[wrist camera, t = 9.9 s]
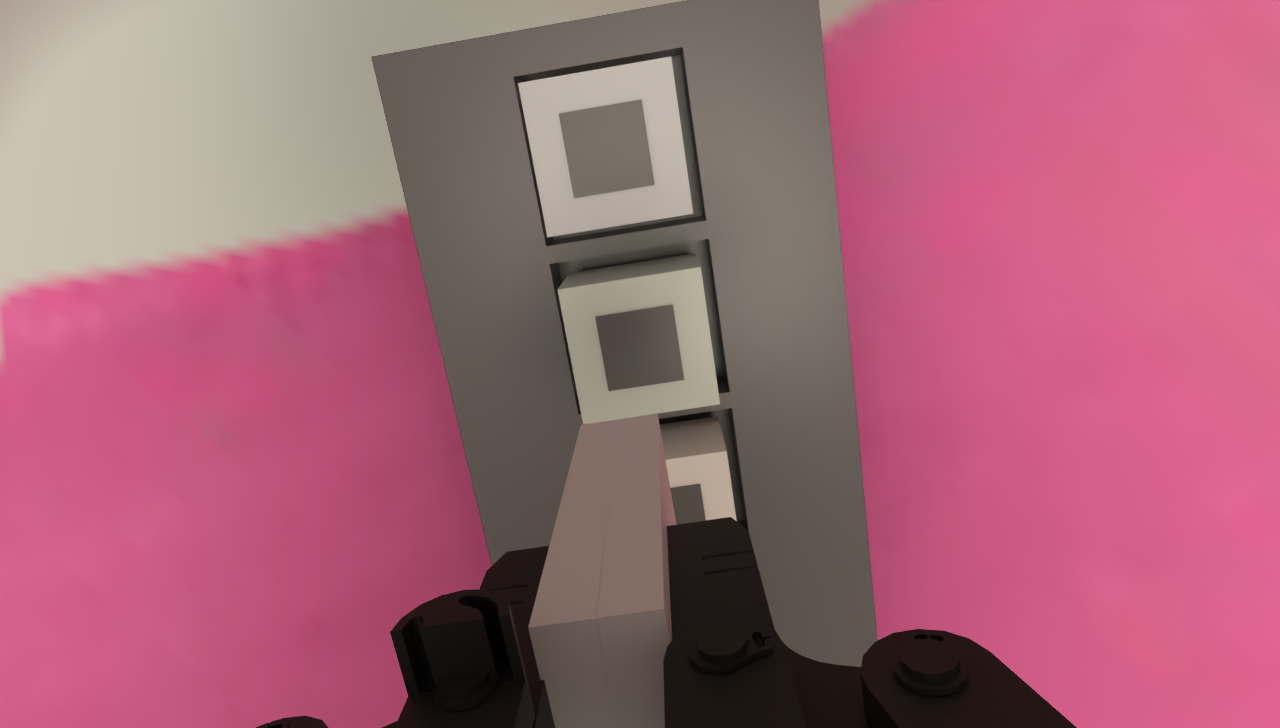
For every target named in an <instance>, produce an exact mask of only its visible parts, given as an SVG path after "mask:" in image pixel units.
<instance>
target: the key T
mask: <svg viewBox="0 0 1280 728" xmlns="http://www.w3.org/2000/svg"><path fill="white" fill-rule="evenodd" d="M660 430H661V436H662V442H663V448H664V454H665V460H666V466H667V472H668V478H669V483H670V489H671V495H672V501H673V507H674V513H675V519H676V525H678V524H685V523H692V522H699V521H706V520H713V519H720V518H726V517H732V518H733V519H734V520H735V521H737V520H736V513H735V506H734V499H733V492H732V485H731V478H730V471H729V464H728V457H727V450H726V446H725V442H724V438H723V434H722V430H721V426H720V422H719V418H718V416H715V417H709V418H702V419H695V420H688V421H681V422H674V423H668V424H661V425H660Z"/></svg>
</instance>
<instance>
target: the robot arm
mask: <svg viewBox="0 0 1280 728" xmlns="http://www.w3.org/2000/svg"><path fill="white" fill-rule="evenodd" d="M390 633H391V636H392V640H393V643H394V647H395V651H396V654H397V658H398V661H399V665H400V668H401V672H402V675H403V679H404V682H405V686H406V689H407V693H408V699H407V701H406V703H405V705H404V708H403V710H402V712H401V714H400V717H399V719H398V721H396V722H394V723H392V724H389V725H387V726H385V727H382V728H1076V727H1075V726H1074V725H1073V724H1072V723H1071V722H1070V721H1068V720H1067V719H1066V718H1065V717H1064V716H1063V715H1062V714H1060V713H1059V712H1058V711H1057V710H1056V709H1055V708H1054V707H1052V706H1051V705H1050V704H1049V703H1048V702H1047V701H1046V700H1044V699H1043V698H1042V697H1041V696H1040V695H1039V694H1038V693H1036V692H1035V691H1034V690H1033V689H1032V688H1031V687H1030V686H1028V685H1027V684H1026V683H1025V682H1024V681H1023V680H1022V679H1020V678H1019V677H1018V676H1017V675H1016V674H1015V673H1014V672H1012V671H1011V670H1010V669H1009V668H1008V667H1007V666H1006V665H1004V664H1003V663H1002V662H1001V661H1000V660H999V659H998V658H996V657H995V656H994V655H993V654H992V653H991V652H990V651H988V650H986V649H985V648H983V647H982V646H980V645H978V644H977V643H975V642H974V641H972V640H970V639H969V638H965V637H962V636H959V635H955V634H952V633H949V632H946V631H937V630H923V629H916V630H909V631H903V632H897V633H893V634H891V635H889V636H887V637H884V638H882V639H880V640H878V641H876V642H874V644H873V645H872V646H871V647H870V648H869V649H868V650H867V652H866V653H865V654H864V655H863V658H862V665H861V667H856V666H845V665H835V664H830V663H824V662H818V661H815V660H813V659H810V658H807V657H804V656H801V655H800V654H798V653H796V652H795V651H793V650H791V649H790V648H788V647H787V646H786V645H785V644H784V643H783V642H782V640H781V639H780V637H779V635H778V634H777V632H776V631H775V628H774V625H773V621H772V617H771V614H770V610H769V606H768V602H767V599H766V595H765V591H764V587H763V584H762V580H761V576H760V572H759V569H758V565H757V561H756V557H755V553H754V550H753V546H752V542H751V538H750V535H749V531H748V530H747V529H746V528H744V527H743V526H742V525H740V524H739V523H738V522H737V521H735V520H734V519H733V518H732V517H726V518H720V519H713V520H706V521H699V522H692V523H685V524H678V525H676V519H675V513H674V507H673V501H672V495H671V489H670V483H669V478H668V472H667V466H666V460H665V454H664V448H663V442H662V436H661V430H660V424H659V418H658V413H656V414H650V415H643V416H637V417H630V418H623V419H617V420H610V421H604V422H597V423H591V424H584V425H581V426H580V429H579V433H578V437H577V441H576V445H575V449H574V453H573V456H572V460H571V464H570V468H569V472H568V476H567V480H566V484H565V487H564V491H563V495H562V499H561V503H560V507H559V511H558V514H557V518H556V522H555V526H554V530H553V534H552V538H551V542H550V545H549V546H543V547H536V548H529V549H522V550H515V551H508V552H506V553H505V554H504V555H503V556H502V557H501V558H500V559H499V560H498V561H497V562H496V563H495V564H493V565H492V566H491V567H490V568H489V569H488V570H487V572H486V574H485V577H484V579H483V582H482V584H481V587H480V590H463V591H458V592H454V593H450V594H446V595H442V596H440V597H437V598H435V599H433V600H431V601H428V602H426V603H424V604H421V605H420V606H418V607H417V608H415V609H414V610H412V611H411V612H410V613H408V614H407V615H405V616H404V617H402V618H401V620H400V621H399V622H398V623H397V624H396V626H395V627H394V628H393V629H392V630H391V632H390ZM256 728H328V727H327V726H326V724H325V723H324V722H323V721H322V720H320V719H316V718H312V717H308V716H299V717H290V718H283V719H280V720H276V721H272V722H271V723H266V724H264V725H261V726H259V727H256Z"/></svg>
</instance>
